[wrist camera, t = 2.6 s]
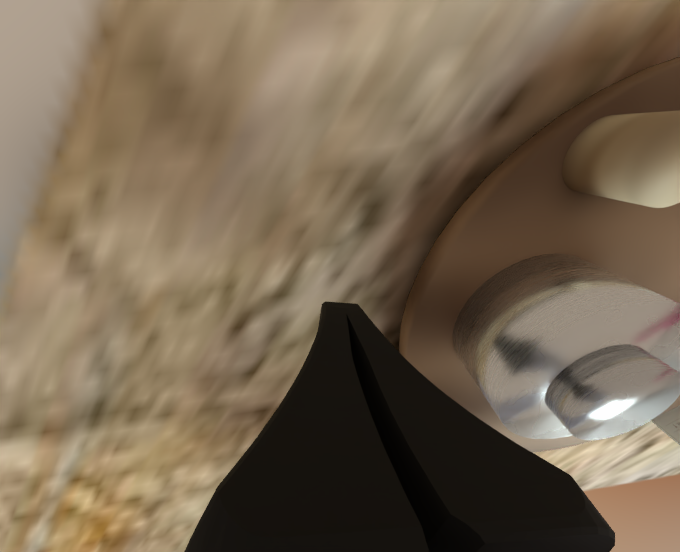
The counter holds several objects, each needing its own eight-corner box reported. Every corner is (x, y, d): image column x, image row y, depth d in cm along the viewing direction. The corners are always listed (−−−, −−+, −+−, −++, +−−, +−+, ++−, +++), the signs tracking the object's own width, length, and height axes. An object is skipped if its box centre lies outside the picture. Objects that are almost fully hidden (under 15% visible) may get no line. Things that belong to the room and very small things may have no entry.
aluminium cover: (547, 374, 14) (636, 463, 11) (432, 370, 13) (484, 469, 9) (631, 262, 11) (804, 330, 7) (490, 244, 10) (605, 313, 6)
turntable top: (627, 434, 22) (682, 485, 18) (360, 438, 18) (371, 503, 15) (989, 114, 11) (1261, 106, 8) (523, -48, 7) (691, -193, 4)
